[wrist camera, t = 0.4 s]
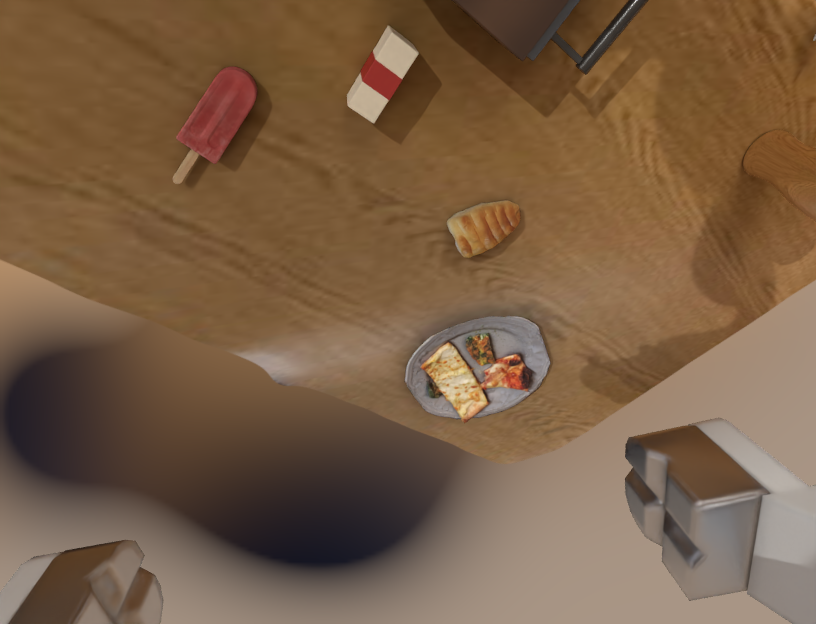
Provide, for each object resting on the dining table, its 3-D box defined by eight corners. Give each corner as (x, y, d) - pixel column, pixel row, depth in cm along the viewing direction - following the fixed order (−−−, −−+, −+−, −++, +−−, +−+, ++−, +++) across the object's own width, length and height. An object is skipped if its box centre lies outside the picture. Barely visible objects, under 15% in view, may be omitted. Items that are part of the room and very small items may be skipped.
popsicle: (153, 174, 52) (224, 58, 46) (157, 167, 53) (227, 54, 47) (193, 198, 54) (265, 91, 48) (196, 191, 56) (267, 86, 50)
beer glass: (729, 179, 64) (816, 238, 52) (753, 127, 59) (854, 178, 48) (778, 176, 64) (874, 233, 53) (805, 123, 60) (916, 174, 48)
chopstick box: (387, 24, 47) (391, 31, 44) (414, 45, 49) (419, 53, 46) (346, 95, 51) (346, 106, 48) (371, 112, 52) (374, 124, 50)
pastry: (508, 183, 60) (517, 197, 57) (524, 223, 64) (533, 238, 61) (441, 217, 62) (447, 233, 59) (461, 254, 66) (467, 270, 63)
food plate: (556, 382, 87) (563, 397, 84) (439, 425, 91) (442, 440, 88) (523, 286, 71) (531, 301, 69) (383, 343, 75) (385, 359, 73)
